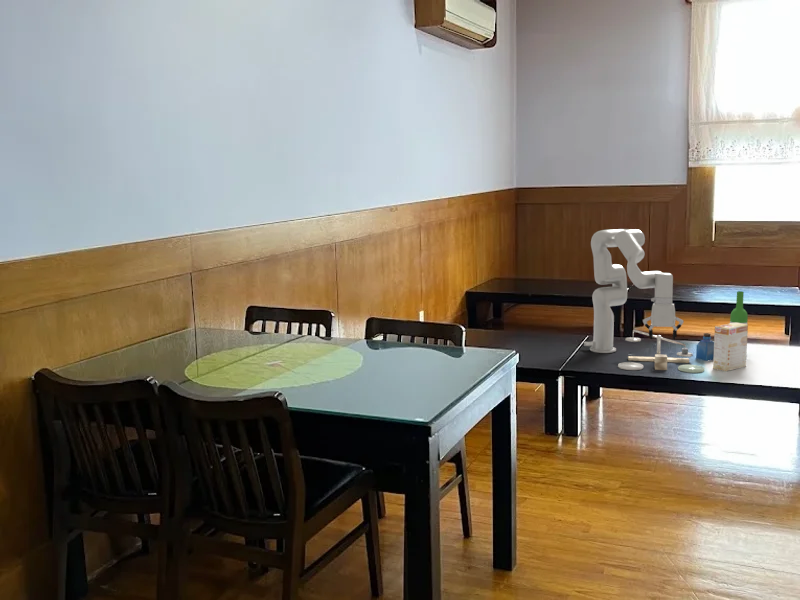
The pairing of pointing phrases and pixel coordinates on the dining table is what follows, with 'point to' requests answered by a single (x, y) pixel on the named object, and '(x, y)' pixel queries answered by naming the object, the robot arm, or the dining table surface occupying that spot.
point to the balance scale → (659, 338)
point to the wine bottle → (739, 311)
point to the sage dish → (691, 368)
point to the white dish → (630, 366)
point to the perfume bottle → (705, 348)
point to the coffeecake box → (730, 346)
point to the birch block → (660, 362)
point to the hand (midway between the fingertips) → (662, 338)
